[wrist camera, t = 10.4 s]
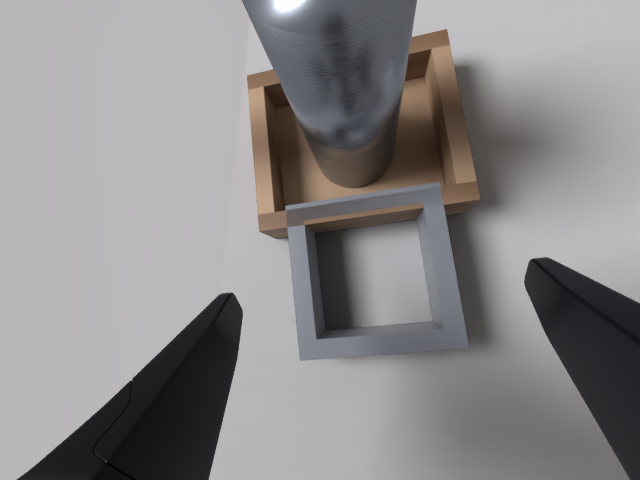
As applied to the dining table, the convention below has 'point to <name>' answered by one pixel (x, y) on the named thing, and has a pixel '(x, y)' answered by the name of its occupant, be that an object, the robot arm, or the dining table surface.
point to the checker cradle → (391, 338)
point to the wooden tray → (408, 159)
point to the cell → (341, 77)
